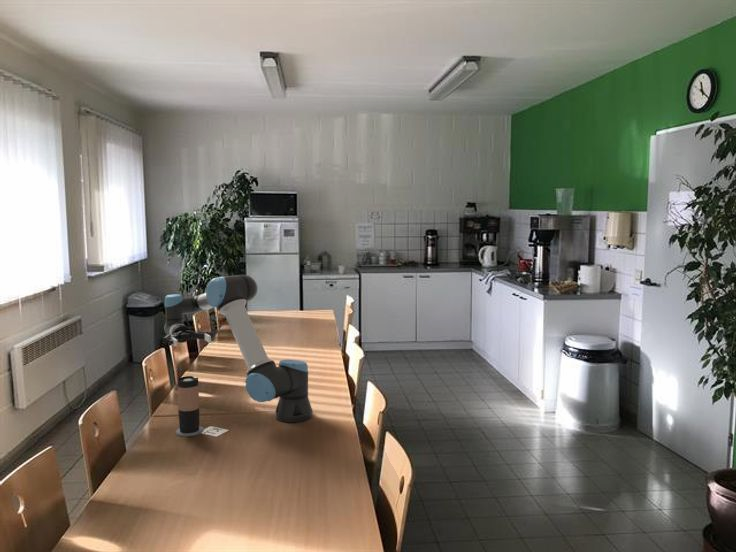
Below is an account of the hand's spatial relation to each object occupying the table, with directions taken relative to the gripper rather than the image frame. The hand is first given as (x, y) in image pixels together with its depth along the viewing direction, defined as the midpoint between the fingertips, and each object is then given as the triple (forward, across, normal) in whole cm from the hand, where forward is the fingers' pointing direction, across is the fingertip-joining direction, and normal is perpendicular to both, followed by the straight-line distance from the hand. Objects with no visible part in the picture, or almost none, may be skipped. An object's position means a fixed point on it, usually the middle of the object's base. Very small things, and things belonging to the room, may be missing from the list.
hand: (193, 341), depth 240 cm
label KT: (+22, 0, -31) cm, 38 cm away
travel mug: (+17, +7, -30) cm, 36 cm away
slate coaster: (+17, +7, -31) cm, 36 cm away
